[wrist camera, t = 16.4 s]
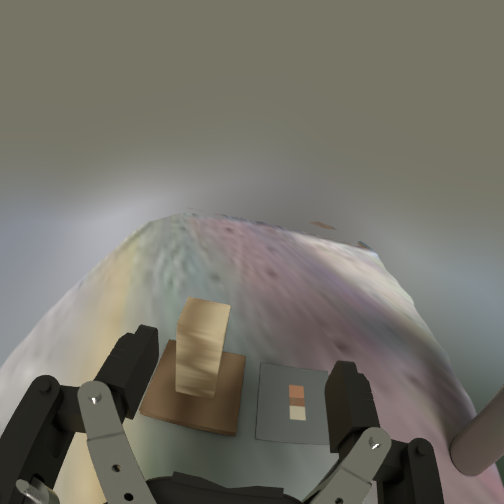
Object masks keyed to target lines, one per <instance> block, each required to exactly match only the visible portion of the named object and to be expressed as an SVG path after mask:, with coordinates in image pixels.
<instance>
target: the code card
mask: <svg viewBox="0 0 504 504" xmlns="http://www.w3.org/2000/svg"><path fill="white" fill-rule="evenodd" d="M328 378H329V376H328V371H318V370H310V369H302V368H294V367H287V366H280V365H273V364H267V363H261V366H260V381H259V395H258V409H257V423H256V436H255V439H257V440H266V441H275V442H286V443H300V444H323V445H330V443H329V433H328V423H327V413H326V404H325V395H324V390H325V384H326V382H327V380H328Z"/></svg>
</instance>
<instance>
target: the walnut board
mask: <svg viewBox="0 0 504 504" xmlns="http://www.w3.org/2000/svg"><path fill="white" fill-rule="evenodd" d="M176 342H177V341H174V340H170V339H169V341H168V344H167V346H166V348H165V350H164V353H163V355H162V357H161V359H160V362H159V364H158V366H157V369H156V371H155V373H154V376H153V378H152V380H151V383H150V385H149V387H148V390H147V392H146V394H145V397H144V399H143V402H142V404H141V407H140V409H139V411H140V414H143V415H146V416H149V417H152V418H156V419H159V420H163V421H167V422H170V423H174V424H178V425H182V426H186V427H190V428H195V429H199V430H204V431H209V432H214V433H219V434H225V435H230V436H235V435H236V430H237V423H238V415H239V407H240V399H241V391H242V383H243V375H244V367H245V359H246V356H243V355H237V354H232V353H227V352H222V357H221V363H220V369H219V374H218V379H217V384H216V389H215V394H214V399H213V400H212V399H207V398H202V397H198V396H193V395H189V394H185V393H180V392H176Z"/></svg>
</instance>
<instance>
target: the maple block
mask: <svg viewBox="0 0 504 504" xmlns="http://www.w3.org/2000/svg"><path fill="white" fill-rule="evenodd" d="M230 307H231V305H226V304H221V303H216V302H211V301H206V300H201V299H197V298H192V297H188V300H187V302H186V304H185V306H184V309H183V311H182V313H181V315H180V318H179V320H178V322H177V342H176V392H180V393H185V394H189V395H193V396H198V397H202V398H207V399H212V400H213V399H214V394H215V389H216V384H217V379H218V374H219V369H220V363H221V357H222V352H223V346H224V340H225V335H226V329H227V324H228V318H229V313H230Z"/></svg>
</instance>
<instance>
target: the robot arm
mask: <svg viewBox="0 0 504 504" xmlns="http://www.w3.org/2000/svg"><path fill="white" fill-rule="evenodd" d="M158 357H159V343H158V329H157V328H154V327H150V326H146V325H142V324H141V325H140V326H139V327H138V329H137V331H136V332H135V334H132V333H126V334H125V335H124V336H122V337H121V338H119V340H118V341H117V343H116V345H115V346H114V348H113V349H112V351H111V353H110V355H109V356H108V357H107V359H106V361H105V362H104V364H103V366H102V367H101V369H100V371H99V372H98V374H97V376H96V377H95V379H94V380H93V381H89V382H86V383H84V384H83V385H82V386H81V387H72V386H63V385H60V384H59V382H58V381H57V380H56V379H55V378H54V377H52V376H50V375H42V376H39V377H37V378H36V379H35V380H34V381H33V382H32V383H31V385H30V387H29V388H28V390H27V392H26V393H25V395H24V396H23V398H22V400H21V402H20V403H19V405H18V407H17V408H16V410H15V412H14V414H13V415H12V417H11V419H10V421H9V423H8V425H7V426H6V428H5V430H4V432H3V434H2V436H1V438H0V504H60V501H59V498H58V496H57V495H56V493H55V492H54V491H53V488H54V485H55V482H56V480H57V477H58V474H59V472H60V469H61V466H62V464H63V461H64V459H65V456H66V454H67V451H68V449H69V446H70V444H71V442H72V439H73V437H74V434H75V432H80V433H86V434H87V438H88V440H87V446H88V450H89V453H90V456H91V459H92V462H93V465H94V468H95V471H96V474H97V477H98V480H99V482H100V485H101V487H102V490H103V493H104V495H105V498H106V500H107V502H106V503H104V504H361V503H362V501H363V500H364V498H365V497H366V495H367V494H368V492H369V491H370V489H371V487H372V484H371V481H372V480H374V481H377V495H378V504H444V499H443V493H442V487H441V482H440V477H439V472H438V467H437V462H436V458H435V454H434V449H433V447H432V445H431V443H430V442H429V441H427V440H426V439H423V438H415V439H413V440H412V441H411V442H410V443H404V442H400V441H396V440H392V439H391V438H390V436H389V434H388V433H387V432H386V431H385V430H383V429H381V428H380V424H379V420H378V415H377V411H376V407H375V403H374V401H373V395H372V393H371V388H370V384H369V381H368V380H367V379H366V377H365V376H364V374H361V373H358V372H357V368H356V364H355V363H354V362H350V361H337V362H336V364H335V366H334V368H333V370H332V372H331V374H330V376H329V378H328V380H327V382H326V384H325V390H324V395H325V404H326V413H327V423H328V433H329V443H330V453H339V459H338V460H337V461H336V463H335V464H334V465H333V466H332V468H331V469H330V470H329V472H328V473H327V474H326V475H325V476H324V478H323V479H322V480H321V481H320V483H319V484H318V485H317V486H316V487H315V488H314V489H313V490H312V491H311V492H310V493H309V494H308V495H307V496H306V497H305V498H304V499H303V500H302V502H301V501H299V500H298V499H296V498H294V497H292V496H289V495H287V494H283V489H284V488H276V487H263V486H252V487H242V488H225V487H223V486H220V485H218V484H215V483H213V482H210V481H208V480H205V479H203V478H201V477H196V476H191V475H187V474H183V473H179V472H175V471H174V473H173V476H166V477H157V478H153V479H149V480H147V481H145V479H144V477H143V474H142V472H141V470H140V468H139V466H138V464H137V461H136V459H135V457H134V454H133V452H132V450H131V447H130V445H129V442H128V440H127V437H126V434H125V432H124V429H123V426H122V424H123V422H124V419H125V417H126V418H129V419H132V420H133V418H134V416H135V413H136V411H137V409H138V406H139V404H140V402H141V399H142V397H143V395H144V392H145V390H146V388H147V385H148V383H149V381H150V378H151V376H152V374H153V372H154V369H155V367H156V365H157V362H158ZM450 451H451V457H452V460H453V463H454V465H455V466H456V468H457V469H458V470H459V471H460V472H462V473H463V474H466V475H468V476H476V475H478V474H480V473H482V472H483V471H484V470H486V469H487V468H488V467H489V466H491V465H492V464H493V463H494V462H496V461H497V460H498V459H499V458H500V457H502V456H503V455H504V384H503V386H502V387H501V388H500V389H499V391H498V392H497V393H496V394H495V395H494V396H493V398H492V399H491V400H490V401H489V402H488V404H487V405H486V406H485V407H484V408H483V409H482V410H481V411H480V412H479V414H478V415H477V416H476V417H475V418H474V419H473V420H472V421H471V422H470V423H469V424H468V425H467V426H466V427H465V428H464V429H463V430H462V431H461V432H460V433H459V434H458V435H457V436H456V437H455V438H454V439H453V441H452V444H451V449H450Z"/></svg>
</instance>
